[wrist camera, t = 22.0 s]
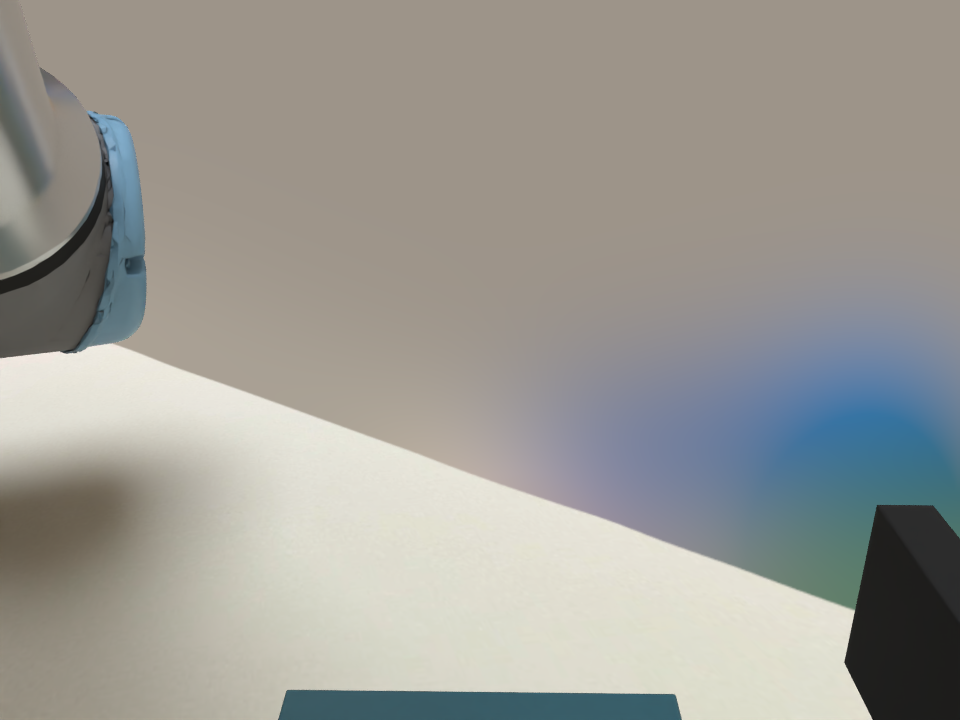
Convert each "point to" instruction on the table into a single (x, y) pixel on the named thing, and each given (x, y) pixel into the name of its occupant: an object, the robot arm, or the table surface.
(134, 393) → the table surface
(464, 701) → the teal box
